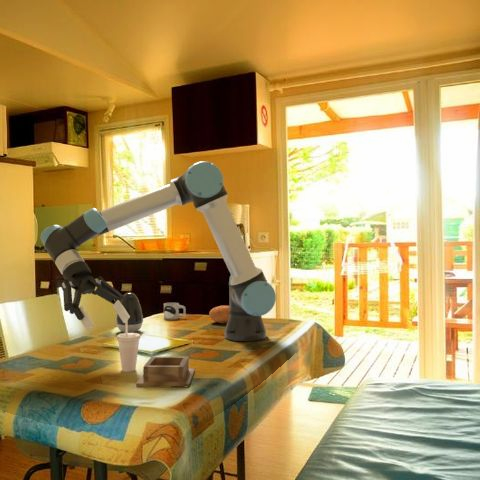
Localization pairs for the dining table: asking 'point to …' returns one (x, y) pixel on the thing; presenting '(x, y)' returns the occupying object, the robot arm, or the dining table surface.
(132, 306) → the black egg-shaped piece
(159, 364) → the box
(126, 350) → the smoothie
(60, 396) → the dining table surface
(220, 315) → the potato
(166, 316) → the mug
